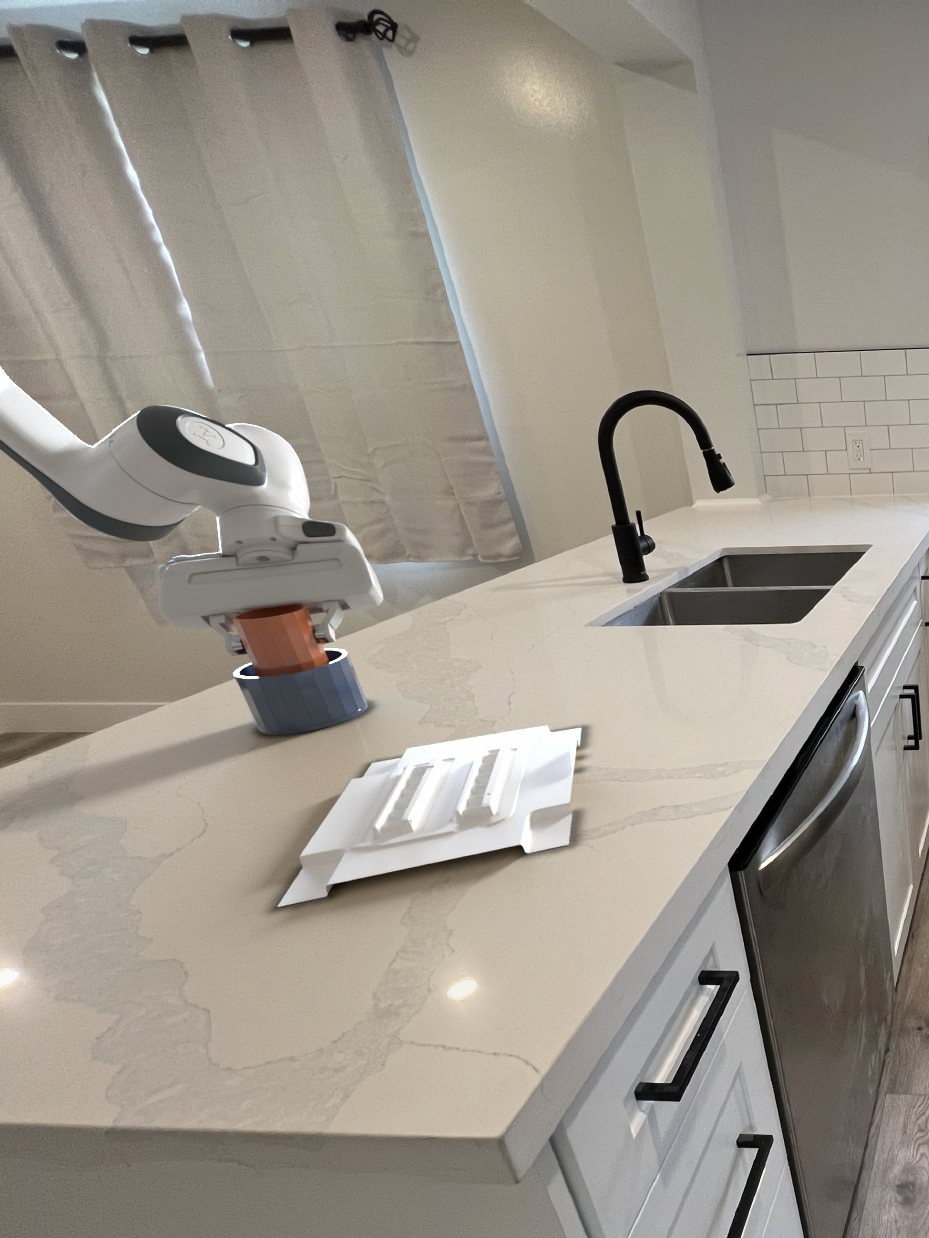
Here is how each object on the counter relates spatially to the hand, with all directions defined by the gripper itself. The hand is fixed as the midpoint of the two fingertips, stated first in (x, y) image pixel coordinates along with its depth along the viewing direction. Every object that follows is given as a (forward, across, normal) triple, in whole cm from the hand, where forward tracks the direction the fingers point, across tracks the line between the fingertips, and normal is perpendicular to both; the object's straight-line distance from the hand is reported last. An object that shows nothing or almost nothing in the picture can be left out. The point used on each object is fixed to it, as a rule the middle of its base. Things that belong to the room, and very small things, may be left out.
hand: (282, 646), depth 92 cm
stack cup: (+6, 0, +7) cm, 9 cm away
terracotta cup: (+3, 0, +4) cm, 5 cm away
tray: (+31, +17, -18) cm, 39 cm away
